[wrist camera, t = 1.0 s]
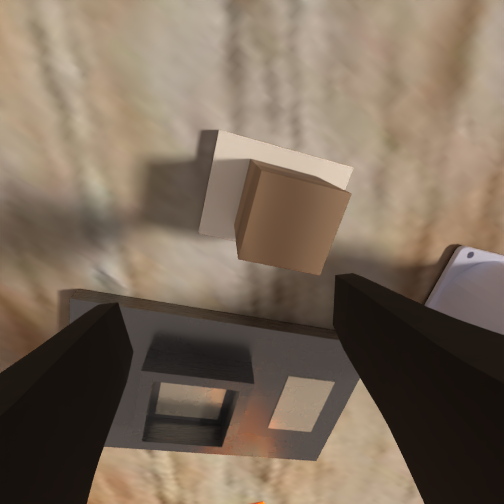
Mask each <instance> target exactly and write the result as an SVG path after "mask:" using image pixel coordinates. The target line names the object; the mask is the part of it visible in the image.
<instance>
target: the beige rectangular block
mask: <svg viewBox="0 0 504 504" xmlns="http://www.w3.org/2000/svg"><path fill="white" fill-rule="evenodd" d="M250 159H254V160H258V161H262V162H265V163H269V164H273V165H277V166H280V167H284V168H288V169H291V170H295V171H299V172H303V173H306V174H310V175H314V176H317V177H319V178H321V179H323V180H325V181H327V182H329V183H331V184H333V185H335V186H337V187H339V188H341V189H343V190H345V189H346V186H347V183H348V181H349V178H350V175H351V173H352V170H353V167H350V166H346V165H343V164H339V163H335V162H332V161H328V160H325V159H321V158H318V157H314V156H311V155H307V154H303V153H300V152H296V151H293V150H289V149H286V148H282V147H279V146H275V145H272V144H268V143H264V142H261V141H257V140H254V139H250V138H247V137H243V136H240V135H236V134H232V133H229V132H225V131H222V130H219V133H218V138H217V143H216V148H215V153H214V158H213V163H212V168H211V172H210V177H209V182H208V187H207V192H206V197H205V202H204V207H203V212H202V217H201V222H200V227H199V232H198V233H199V234H204V235H208V236H213V237H218V238H223V239H227V240H232V241H236V238H235V229H234V223H235V219H236V215H237V211H238V207H239V203H240V199H241V195H242V191H243V187H244V183H245V179H246V175H247V171H248V167H249V162H250Z"/></svg>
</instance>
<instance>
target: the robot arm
mask: <svg viewBox="0 0 504 504" xmlns="http://www.w3.org/2000/svg"><path fill="white" fill-rule="evenodd" d="M469 252H470V253H469ZM468 253H469V254H468ZM467 254H468V255H467ZM333 326H334V328H335V331H336V333H337V335H338V338H339V340H340V342H341V345H342V347H343V349H344V351H345V353H346V355H347V356H348V358H349V360H350V361H351V363H352V365H353V367H354V368H355V370H356V372H357V373H358V375H359V377H360V378H361V380H362V382H363V383H364V385H365V387H366V388H367V390H368V392H369V393H370V395H371V397H372V398H373V400H374V402H375V403H376V405H377V407H378V408H379V410H380V412H381V414H382V415H383V417H384V419H385V421H386V423H387V424H388V426H389V428H390V430H391V433H392V435H393V437H394V439H395V441H396V443H397V445H398V447H399V449H400V451H401V453H402V455H403V458H404V460H405V462H406V464H407V466H408V468H409V471H410V473H411V475H412V477H413V479H414V482H415V484H416V486H417V488H418V490H419V493H420V495H421V497H422V499H423V501H424V504H504V255H501V254H497V253H493V252H489V251H485V250H481V249H477V248H473V247H469V246H464V245H462V246H459V247H458V248H457V249H456V250H455V252H454V254H453V255H452V257H451V259H450V261H449V262H448V264H447V266H446V268H445V270H444V271H443V273H442V275H441V277H440V278H439V280H438V282H437V284H436V285H435V287H434V289H433V291H432V292H431V294H430V296H429V298H428V300H427V301H426V303H425V305H422V304H420V303H418V302H415V301H413V300H411V299H409V298H406V297H404V296H402V295H400V294H398V293H396V292H394V291H391V290H389V289H387V288H385V287H383V286H381V285H379V284H377V283H375V282H373V281H370V280H368V279H366V278H364V277H361V276H359V275H356V274H354V273H351V274H343V275H335V294H334V313H333ZM133 352H134V351H133V348H132V345H131V342H130V338H129V335H128V332H127V329H126V326H125V323H124V319H123V316H122V313H121V310H120V307H119V303H118V302H115V303H107V304H99V305H97V306H95V307H94V308H92V309H90V310H89V311H88V312H86V313H85V314H83V315H82V316H80V317H79V318H78V319H76V320H75V321H73V322H72V323H71V324H69V325H68V326H67V327H65V328H64V329H63V330H61V331H60V332H58V333H57V334H56V335H54V336H53V337H52V338H50V339H49V340H47V341H46V342H45V343H43V344H42V345H41V346H39V347H38V348H36V349H35V350H33V351H32V352H31V353H29V354H28V355H26V356H25V357H23V358H22V359H20V360H19V361H17V362H16V363H15V364H13V365H12V366H10V367H9V368H7V369H6V370H4V371H3V372H1V373H0V504H87V501H88V497H89V493H90V489H91V485H92V482H93V478H94V474H95V471H96V468H97V465H98V462H99V459H100V456H101V453H102V450H103V447H104V445H105V442H106V439H107V436H108V434H109V431H110V428H111V425H112V423H113V420H114V417H115V414H116V412H117V409H118V406H119V403H120V401H121V398H122V395H123V392H124V389H125V386H126V383H127V380H128V376H129V371H130V367H131V362H132V357H133Z"/></svg>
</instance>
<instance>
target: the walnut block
mask: <svg viewBox="0 0 504 504" xmlns="http://www.w3.org/2000/svg"><path fill="white" fill-rule="evenodd" d="M350 197H351V193H349V192H347V191H345V190H343V189H341V188H339V187H337V186H335V185H333V184H331V183H329V182H327V181H325V180H323V179H321V178H319V177H317V176H314V175H310V174H306V173H303V172H299V171H295V170H291V169H288V168H284V167H280V166H277V165H273V164H269V163H265V162H262V161H258V160H254V159H250V162H249V167H248V171H247V175H246V179H245V183H244V187H243V191H242V195H241V199H240V203H239V207H238V211H237V215H236V219H235V223H234V229H235V238H236V246H237V254H238V259H240V260H245V261H250V262H255V263H260V264H265V265H270V266H275V267H280V268H285V269H290V270H295V271H300V272H305V273H310V274H315V275H320V274H321V271H322V269H323V266H324V264H325V261H326V258H327V256H328V253H329V251H330V248H331V246H332V243H333V240H334V238H335V235H336V233H337V230H338V228H339V225H340V223H341V220H342V217H343V215H344V212H345V210H346V207H347V205H348V202H349V199H350Z"/></svg>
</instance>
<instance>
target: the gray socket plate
mask: <svg viewBox="0 0 504 504" xmlns="http://www.w3.org/2000/svg"><path fill="white" fill-rule="evenodd" d="M115 302H118V303H119V307H120V310H121V313H122V316H123V319H124V323H125V326H126V329H127V332H128V335H129V338H130V342H131V345H132V348H133V351H134V352H133V357H132V362H131V367H130V371H129V376H128V380H127V383H126V386H125V389H124V392H123V395H122V398H121V401H120V403H119V406H118V409H117V412H116V414H115V417H114V420H113V423H112V425H111V428H110V431H109V434H108V436H107V439H106V442H105V445H104V447H118V448H133V449H148V450H162V451H177V452H192V453H207V454H221V455H236V456H251V457H266V458H280V459H295V460H310V461H316V460H317V458H318V457H319V455H320V453H321V451H322V449H323V447H324V445H325V443H326V441H327V439H328V437H329V436H330V434H331V432H332V430H333V428H334V426H335V424H336V422H337V420H338V418H339V417H340V415H341V413H342V411H343V409H344V407H345V405H346V403H347V401H348V399H349V398H350V396H351V394H352V392H353V390H354V388H355V386H356V384H357V382H358V380H359V379H360V377H359V375H358V373H357V372H356V370H355V368H354V367H353V365H352V363H351V361H350V360H349V358H348V356H347V355H346V353H345V351H344V349H343V347H342V345H341V342H340V340H339V338H338V335H337V333H336V331H335V330H330V329H323V328H317V327H311V326H305V325H299V324H293V323H286V322H280V321H274V320H268V319H262V318H255V317H249V316H243V315H237V314H231V313H225V312H218V311H212V310H206V309H200V308H194V307H188V306H181V305H175V304H169V303H163V302H157V301H150V300H144V299H138V298H132V297H126V296H120V295H113V294H107V293H101V292H95V291H89V290H82V289H78V290H77V291H76V292H75V294H74V295H73V296H72V297H71V298H70V316H69V324H71V323H72V322H73V321H75V320H76V319H78V318H79V317H80V316H82V315H83V314H85V313H86V312H88V311H89V310H90V309H92V308H94V307H95V306H97V305H99V304H107V303H115Z"/></svg>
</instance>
